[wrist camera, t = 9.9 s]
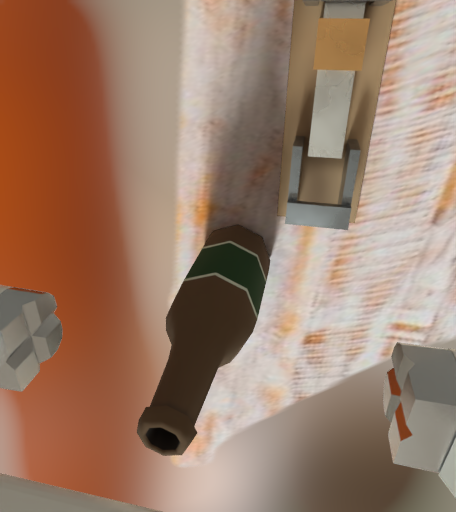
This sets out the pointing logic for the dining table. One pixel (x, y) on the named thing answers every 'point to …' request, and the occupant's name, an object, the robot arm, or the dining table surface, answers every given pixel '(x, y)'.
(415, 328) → the dining table surface
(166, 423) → the beer bottle
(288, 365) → the dining table surface
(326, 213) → the grey u-shaped bracket
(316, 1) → the socket
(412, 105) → the dining table surface
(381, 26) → the board
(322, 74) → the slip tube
